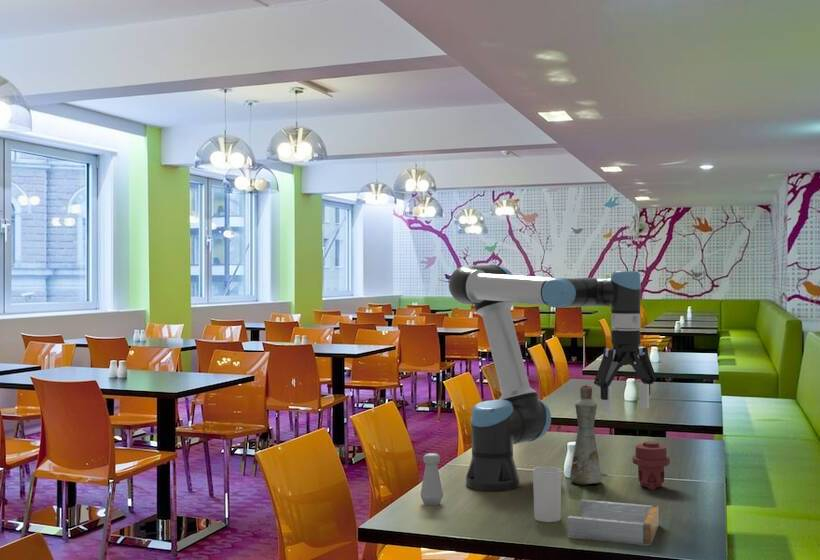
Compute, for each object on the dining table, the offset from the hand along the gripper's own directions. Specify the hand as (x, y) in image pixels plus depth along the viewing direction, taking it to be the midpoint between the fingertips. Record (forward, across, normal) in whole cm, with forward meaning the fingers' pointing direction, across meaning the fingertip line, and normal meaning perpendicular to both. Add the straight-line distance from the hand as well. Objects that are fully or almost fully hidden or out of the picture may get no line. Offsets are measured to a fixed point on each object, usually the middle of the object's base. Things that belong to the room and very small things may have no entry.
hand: (625, 410), depth 227 cm
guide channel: (+23, -23, -20) cm, 38 cm away
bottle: (+24, +4, +20) cm, 31 cm away
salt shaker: (+24, -45, +24) cm, 57 cm away
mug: (+24, -28, -2) cm, 37 cm away
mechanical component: (+24, +16, +6) cm, 29 cm away
